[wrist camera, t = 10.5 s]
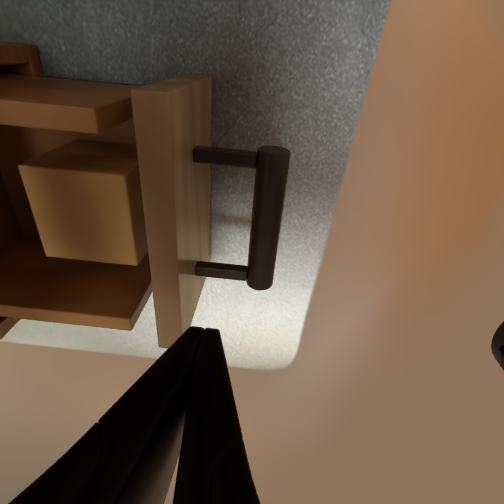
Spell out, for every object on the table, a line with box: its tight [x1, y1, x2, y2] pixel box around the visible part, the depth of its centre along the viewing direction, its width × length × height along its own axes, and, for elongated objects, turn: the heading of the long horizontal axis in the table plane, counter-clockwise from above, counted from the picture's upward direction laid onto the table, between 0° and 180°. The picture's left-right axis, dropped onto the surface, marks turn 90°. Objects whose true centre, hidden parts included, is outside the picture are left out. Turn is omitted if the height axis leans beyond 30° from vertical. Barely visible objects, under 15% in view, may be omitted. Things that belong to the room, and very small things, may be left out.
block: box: [18, 140, 148, 266], centre depth 16 cm, size 4×4×4 cm
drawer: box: [0, 73, 291, 348], centre depth 16 cm, size 17×11×7 cm
